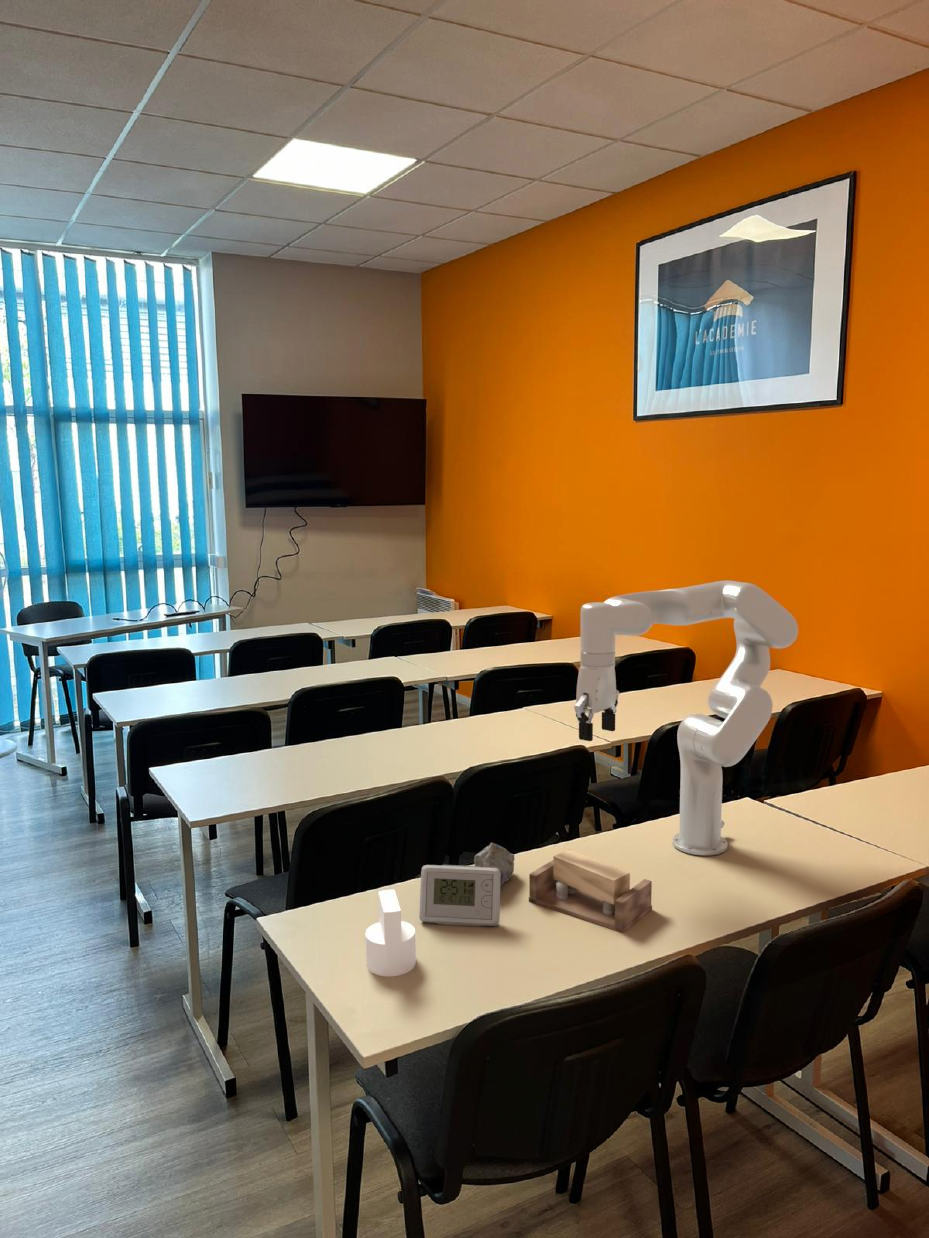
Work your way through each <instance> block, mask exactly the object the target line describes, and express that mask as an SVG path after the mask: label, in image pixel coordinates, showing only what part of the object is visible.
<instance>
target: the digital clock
mask: <svg viewBox="0 0 929 1238" xmlns="http://www.w3.org/2000/svg"><path fill="white" fill-rule="evenodd" d="M500 882H501V874H500V870H499V869H497V868H484V867H480V866H474V865H455V864H453V865H452V864H442V865H438V864H426V865H423V866H422V867H421V871H420V891H419V893H420V894H419V914H418V915H419V919H420V921H421V922H423V923H433V924H434V923H435V924H437V925H451V926H466V927H467V926H468V927H482V926H487V927H489V926H491V927H496V926H498V925H499V923H500V918H501V917H500V915H501V914H500V913H501V911H500V910H501V909H500V908H501V886H500Z"/></svg>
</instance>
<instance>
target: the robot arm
mask: <svg viewBox="0 0 929 1238" xmlns="http://www.w3.org/2000/svg"><path fill="white" fill-rule="evenodd" d="M720 619H734V620H733V631H734V634H735V635H734V636H735V640H736V650H735V651H736V652H735V655H734V657H733V658H732V660H731V662H730V663H729V665H728V667H727V668H726V669H725V671H724V672H723V673H722V675H721V676H720V677H719V679H718V681H717V682H716V683H715V685H714V686H713V688H712V690H711V691H710V692H709V695H708V698H707V705H708V708H709V709H710V711H711V712H713V713H714V714H715V715H717V716H718V717H721V718H723V719H724V720H723V721H722V720H720V719H718V718H715V717H713V716H709V715H706V714H700V713H695V714H690V715H688V716H686V717H685V718H683V719H682V721H681V722H680V724H679V725H678V729H677V735H676V736H677V737H676V739H677V747H678V748H677V749H678V752H679V760H680V761H679V762H680V784H679V785H680V786H679V787H680V789H679V795H680V796H679V828H678V829H679V832H678V833H676V834H675V835H673V837H672V846H674V847H675V848H676V849H677V850H678V851H681V852H683V853H686V854H689V855H695V856H705V857H707V856H716V855H717V856H718V855H720V854H722V853H724V852H726V851H727V850H728V841H727V840H726V838H724V837H723V836H722V829H723V828H724V827H725V822H724V820H723V819H722V810H723V809H722V807H723V805H722V803H723V801H722V800H723V769H722V767H724V768H727V767H733V766H734V765H736V764H738V763H739V762H741V760H742V759H743V758H744V757H745V756H746V754H747V753H748V751H750V749H751V747H752V746H753V745H754V743H755V742H756V741H757V739H758V737H760V735H761V734H762V732H763V730H764V729H765V727H766V726H767V725H768V722H769V721H770V719H771V716H772V712H773V705H774V704H773V700H772V696H771V695H770V693H769V692H768V691H767V690H766V689H764V688H763V687H761V686H762V684H763V683H764V681H765V680H766V677H767V676H768V675H769V672H770V669H771V655H770V648H772V649H784V648H788V647H790V646H792V644H794V642H795V641H796V640H797V638H798V634H799V627H798V626H799V625H798V622H797V620H796V618H795V617H794V616H793V614H792V613H790V612H789V610H787V609H786V608H785V607H783V606H782V605H781V604H780V603H779V602H778V601H777V600H775V599H774V598H773V597H772V596H771V595H769V594H768V593H767V592H766V591H764V590H763V589H762V588H760V587H759V586H757V585H755V584H754V583H749V582H743V581H742V582H741V581H736V580H735V581H734V580H719V581H713V582H707V583H702V584H697V585H691V586H686V587H679V588H668V589H667V588H666V589H660V590H652V591H651V590H650V591H649V590H648V591H638V592H632V593H625V594H620V595H617V596H616V595H615V596H612V597H610V598H607V599H606V600H605V601H603V602H599V601H598V602H597V601H596V602H594V601H593V602H586V603H585V604H582V605H581V608H580V647H579V648H580V649H579V650H580V660H579V661H580V667H579V668H578V676H577V680H576V681H577V683H576V699H575V701H576V703H575V704H574V705H573V706H574V707H573V708H574V711H575V717H576V719H577V720H576V721H577V722H578V739H579V740H580V741H587V742H592V741H593V740H594V734H593V733H594V723H593V722H592V720H593V718H594V716H595V714H597V713H600V712H601V729H602V730H603V731H608V732H615V731H616V713H617V706H618V703H619V701H618V700H619V696H620V691H619V690H618V689H617V683H616V682H617V679H616V670H615V667H616V636H629V637H637V636H642V635H644V634H646V633H647V632H648V631H649V630H650V629H651V628H652V626H653V625H654V624H659V625H660V624H662V625H669V626H690V625H694V624H700V623H704V622H709V621H714V620H720Z"/></svg>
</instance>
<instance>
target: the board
mask: <svg viewBox="0 0 929 1238" xmlns="http://www.w3.org/2000/svg"><path fill="white" fill-rule="evenodd" d="M552 860H553V872H554V879H555V880H557V881H559V882H562V883H564V884H566V885H569V886H571V887H573V888H576V889H578V890H580V891H583V892H585V893H587V894H590V895H592V896H594V897H597V898H599V899H601V900H604V901H606V902H608V903H611V904H613V905H614V904H615V900H617V899H618V898H619V897H621V896H622V895H623V894H625V893H626V892H628V891H629V890H630V889H631V888H630V887H631V885H630V884H631V881H630V880H631V873H630V872H629V871H625V870H623V869H621V868H618V867H615V866H612V865H610V864H608V863H605V862H602V861H600V860H597V859H595V858H593V857H589V856H587V855H585V854H582V853H580V852H576V851H575V850H572V849H568V850H565V851H562V852H559V853H558V854H556V855H553V859H552Z"/></svg>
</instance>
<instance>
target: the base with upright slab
mask: <svg viewBox="0 0 929 1238" xmlns="http://www.w3.org/2000/svg"><path fill="white" fill-rule="evenodd" d="M395 890H396V889H383V890H379V891H378V893H377V894H378V918H379V919H378V922H375V923H374V924H371V925H370V926H369V927H367V928H366V931H365V935H364V936H365V937H364V939H365V958H366V959H365V961H366V965H365V966H366V968H367V970H368V971H369V972H370V973H372V974H373V975H375V976H376V975H377V976H381V977H398V976H401V975H404V974H407V973H408V972H410V971H412V970H413V969H414V968H415V966H416V964H417V955H416V954H417V952H416V951H417V949H416V946H417V945H416V929H415V926H414V925H413V924H411V923H409V922H407V921H403V920H402V909H401V907H400V904H399V900H398V897H397V894H396V891H395Z"/></svg>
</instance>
